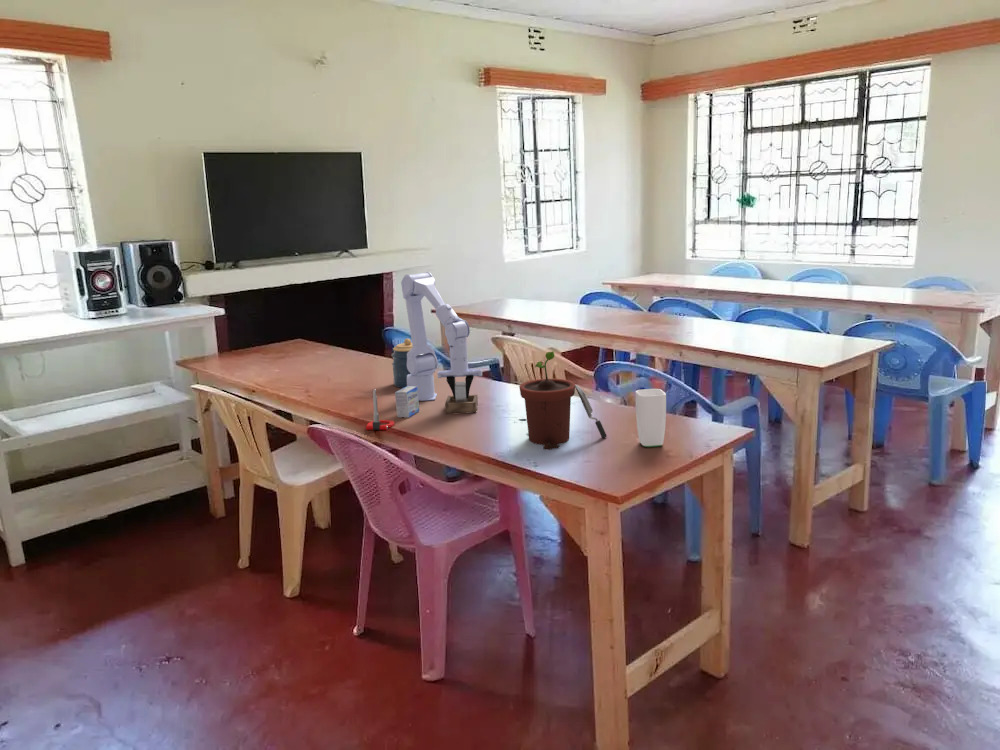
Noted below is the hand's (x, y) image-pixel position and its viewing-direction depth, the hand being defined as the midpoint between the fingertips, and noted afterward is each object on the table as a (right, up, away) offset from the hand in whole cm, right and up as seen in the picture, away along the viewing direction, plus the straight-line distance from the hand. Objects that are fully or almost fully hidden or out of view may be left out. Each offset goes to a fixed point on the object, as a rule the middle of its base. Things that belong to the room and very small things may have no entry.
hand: (461, 397), depth 259 cm
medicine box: (-17, -6, -2) cm, 18 cm away
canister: (-21, +4, +39) cm, 45 cm away
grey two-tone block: (0, -2, +1) cm, 2 cm away
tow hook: (-25, -9, -13) cm, 29 cm away
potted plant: (+30, -11, -35) cm, 48 cm away
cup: (+54, -12, -43) cm, 71 cm away
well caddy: (0, -4, +1) cm, 4 cm away
